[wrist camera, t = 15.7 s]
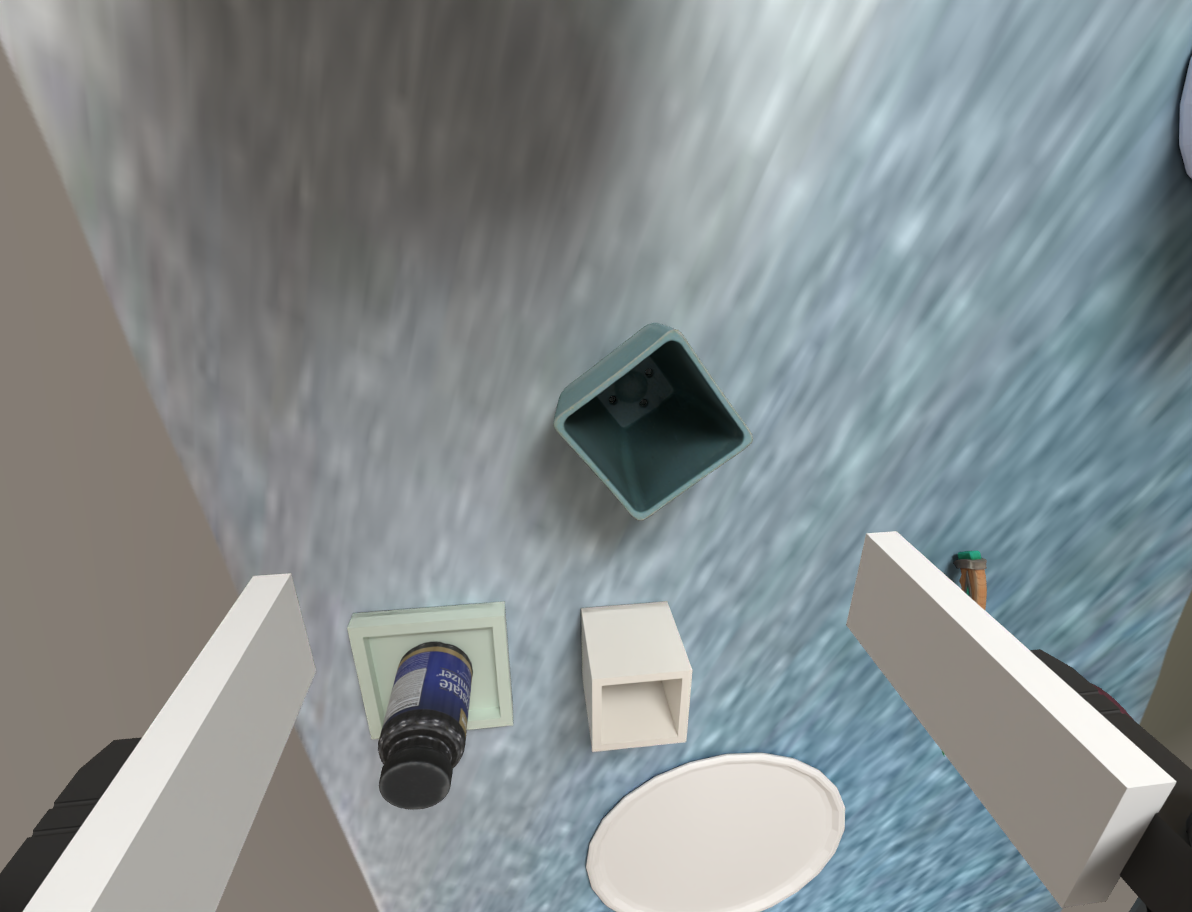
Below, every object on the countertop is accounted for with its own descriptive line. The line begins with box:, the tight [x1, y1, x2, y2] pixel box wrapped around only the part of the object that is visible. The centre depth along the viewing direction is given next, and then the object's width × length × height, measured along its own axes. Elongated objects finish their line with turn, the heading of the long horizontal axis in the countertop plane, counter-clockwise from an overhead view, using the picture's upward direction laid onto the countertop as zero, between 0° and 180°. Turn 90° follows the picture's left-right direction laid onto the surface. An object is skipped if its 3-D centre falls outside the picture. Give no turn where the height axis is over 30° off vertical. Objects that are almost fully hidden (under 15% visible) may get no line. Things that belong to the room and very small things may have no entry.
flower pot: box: [553, 323, 753, 521], centre depth 38 cm, size 9×9×9 cm
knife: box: [942, 551, 987, 755], centre depth 54 cm, size 21×2×5 cm, turn 2°
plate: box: [586, 753, 845, 912], centre depth 65 cm, size 29×29×1 cm
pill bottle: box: [378, 641, 473, 809], centre depth 44 cm, size 6×6×11 cm
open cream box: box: [581, 601, 692, 752], centre depth 48 cm, size 7×7×8 cm
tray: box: [347, 601, 513, 739], centre depth 49 cm, size 12×12×2 cm
